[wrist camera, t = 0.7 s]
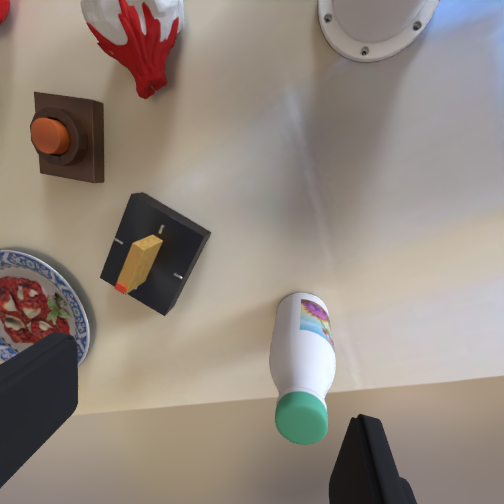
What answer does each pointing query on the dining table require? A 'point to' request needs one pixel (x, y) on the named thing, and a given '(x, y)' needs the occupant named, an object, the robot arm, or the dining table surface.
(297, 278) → the dining table surface
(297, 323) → the milk bottle
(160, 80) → the white and red skull
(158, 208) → the plate
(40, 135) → the button
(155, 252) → the tap lever
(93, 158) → the button block
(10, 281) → the ceramic plate
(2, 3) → the fruit
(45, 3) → the dining table surface
